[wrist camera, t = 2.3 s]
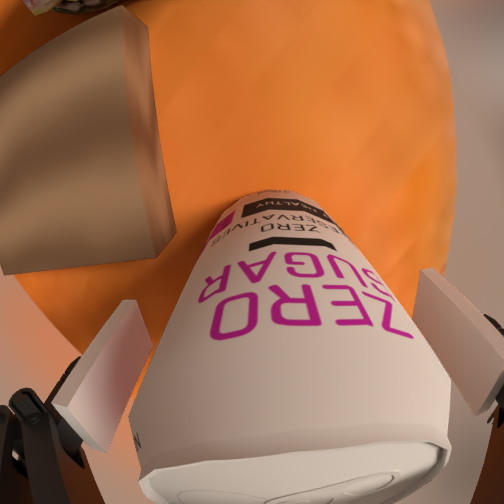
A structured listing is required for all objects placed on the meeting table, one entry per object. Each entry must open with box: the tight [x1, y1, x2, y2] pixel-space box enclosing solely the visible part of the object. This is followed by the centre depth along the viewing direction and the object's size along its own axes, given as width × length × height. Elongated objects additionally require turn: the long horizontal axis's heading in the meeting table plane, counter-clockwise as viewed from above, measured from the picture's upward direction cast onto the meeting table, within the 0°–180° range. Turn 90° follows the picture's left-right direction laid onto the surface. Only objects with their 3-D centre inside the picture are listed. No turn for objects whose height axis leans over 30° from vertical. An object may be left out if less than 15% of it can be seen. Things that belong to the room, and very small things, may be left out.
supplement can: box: [128, 189, 452, 504], centre depth 11 cm, size 8×8×15 cm
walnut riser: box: [0, 5, 177, 275], centre depth 14 cm, size 14×14×4 cm
